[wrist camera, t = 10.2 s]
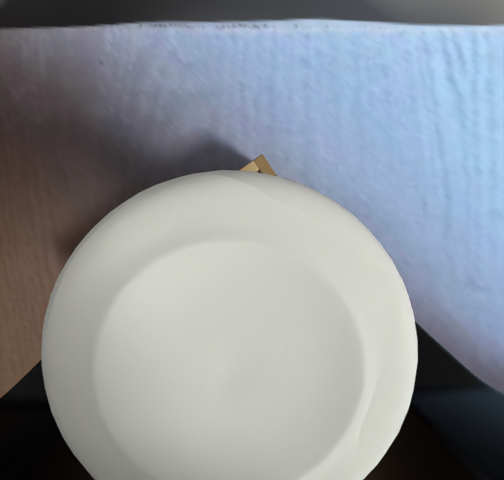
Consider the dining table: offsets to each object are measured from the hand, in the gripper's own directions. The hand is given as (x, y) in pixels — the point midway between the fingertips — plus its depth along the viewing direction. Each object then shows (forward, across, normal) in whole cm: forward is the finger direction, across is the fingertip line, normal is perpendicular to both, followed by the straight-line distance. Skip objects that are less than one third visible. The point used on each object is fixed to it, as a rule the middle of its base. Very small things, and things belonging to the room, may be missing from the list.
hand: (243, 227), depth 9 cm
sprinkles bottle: (+4, 0, +6) cm, 7 cm away
